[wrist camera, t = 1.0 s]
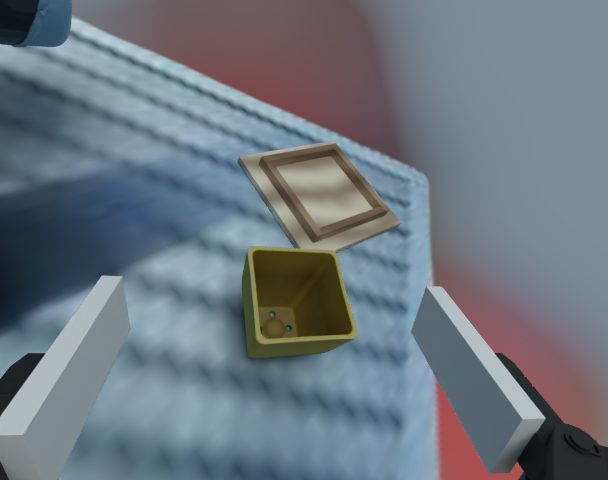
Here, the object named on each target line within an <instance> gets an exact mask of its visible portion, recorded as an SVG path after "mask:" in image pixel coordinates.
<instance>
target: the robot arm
mask: <svg viewBox="0 0 608 480" xmlns="http://www.w3.org/2000/svg"><path fill="white" fill-rule="evenodd" d="M71 16H72V0H0V44H5V45H12V46H13V47H20V48H21V47H25V46H42V47H56V46H59V45H61V44H63V43H64V42H65V41H66V40H67V38H68V36H69V33H70V28H71ZM129 330H130V324H129V317H128V310H127V304H126V297H125V290H124V283H123V277H122V276H102V277H101V278H100V279H99V281H98V282H97V283H96V285H95V286H94V288H93V289H92V290H91V292H90V293H89V294H88V296H87V297H86V299H85V300H84V301H83V303H82V304H81V306H80V307H79V308H78V310H77V311H76V312H75V314H74V315H73V317H72V318H71V319H70V321H69V322H68V323H67V325H66V326H65V328H64V329H63V330H62V332H61V333H60V335H59V336H58V337H57V339H56V340H55V341H54V343H53V344H52V346H51V347H50V348H49V350H48V351H47V352H46V353H28V354H27V355H25V356H24V357H23V358H21V359H20V360H18V361H17V362H16V363H14V364H13V365H12V366H10V368H9V369H8V370H7V371H6V373H5V374H4V375H3V376H2V378H1V379H0V480H58V479H59V477H60V474H61V472H62V470H63V468H64V466H65V464H66V462H67V460H68V458H69V456H70V454H71V452H72V449H73V447H74V445H75V443H76V441H77V439H78V437H79V435H80V433H81V431H82V429H83V426H84V424H85V422H86V420H87V418H88V416H89V414H90V412H91V410H92V408H93V406H94V404H95V401H96V399H97V397H98V395H99V393H100V391H101V389H102V387H103V385H104V383H105V381H106V378H107V376H108V374H109V372H110V370H111V368H112V366H113V364H114V362H115V360H116V358H117V355H118V353H119V351H120V349H121V347H122V345H123V343H124V341H125V339H126V337H127V335H128V333H129ZM411 333H412V334H413V336H414V338H415V340H416V342H417V344H418V345H419V347H420V349H421V351H422V353H423V355H424V356H425V358H426V360H427V362H428V364H429V365H430V367H431V369H432V371H433V373H434V375H435V376H436V378H437V380H438V382H439V384H440V386H441V387H442V389H443V391H444V393H445V395H446V396H447V398H448V400H449V402H450V404H451V406H452V407H453V409H454V411H455V413H456V415H457V417H458V418H459V420H460V422H461V424H462V426H463V427H464V429H465V431H466V433H467V435H468V436H469V438H470V440H471V442H472V444H473V446H474V448H475V449H476V451H477V453H478V455H479V456H480V459H481V460H482V462H483V464H484V466H485V468H486V469H487V471H488V473H489V474H491V473H508V472H510V471H511V470H512V468H513V467H514V465H515V464H516V462H518V463H519V465H520V466H521V468H522V469H523V471H524V472H523V474H522V475H521V476H520V478H519V479H518V480H608V447H604V446H601V445H599V444H598V443H597V442H596V441H595V440H594V439H593V438H592V437H591V436H590V435H588V434H587V433H586V432H584V431H582V430H581V429H579V428H577V427H574V426H572V425H569V424H565V423H564V422H563V421H562V420H561V419H560V418H559V417H558V415H557V414H556V413H555V412H554V411H553V409H552V408H551V407H550V406H549V405H548V403H547V402H546V401H545V400H544V399H543V397H542V396H541V395H540V394H539V392H538V391H537V390H536V389H535V388H534V387H532V384H531V383H530V382H529V380H528V379H527V378H526V377H524V375H523V373H522V372H521V371H520V369H519V368H518V367H517V366H516V365H515V363H513V362H512V361H511V360H510V359H508V358H507V357H506V356H504V355H503V354H501V353H494V352H493V351H492V350H491V348H490V347H489V346H488V345H487V343H486V342H485V341H484V340H483V338H482V337H481V336H480V335H479V333H478V332H477V331H476V330H475V328H474V327H473V326H472V324H471V323H470V322H469V321H468V319H467V318H466V317H465V316H464V314H463V313H462V312H461V310H460V309H459V308H458V307H457V305H456V304H455V303H454V302H453V300H452V299H451V298H450V297H449V295H448V294H447V293H446V291H445V290H444V289H443V288H442V287H429V286H427V287H426V289H425V292H424V295H423V298H422V301H421V304H420V307H419V310H418V313H417V316H416V319H415V322H414V325H413V328H412V331H411Z"/></svg>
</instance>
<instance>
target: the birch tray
mask: <svg viewBox="0 0 608 480" xmlns="http://www.w3.org/2000/svg"><path fill="white" fill-rule="evenodd" d="M238 163H239V164H240V166H241V168H242V169H243V171H244V172H245V174H246V175H247V177H248V178H249V180H250V181H251V183H252V184H253V186H254V187H255V189H256V190H257V192H258V193H259V195H260V196H261V198H262V199H263V201H264V202H265V204H266V205H267V207H268V208H269V210H270V211H271V213H272V214H273V216H274V217H275V219H276V220H277V222H278V223H279V225H280V226H281V228H282V229H283V231H284V232H285V234H286V235H287V237H288V238H289V240H290V241H291V243H292V244H293V246H294V247H295V248H299V249H322V250H333V251H335V253H337V252H339V251H341V250H344V249H346V248H348V247H351V246H353V245H355V244H358V243H360V242H363V241H365V240H367V239H370V238H372V237H374V236H377V235H379V234H382V233H384V232H386V231H389V230H391V229H393V228H396V227H398V226H399V225H400V224H401V222H400V221H399V219H398V218H397V217H396V216H395V215H394V213H393V212H392V211H391V210H390V208H389V207H388V206H387V205H386V204H385V202H384V201H383V200H382V199H381V198H380V196H379V195H378V194H377V193H376V191H375V190H374V189H373V188H372V187H371V185H370V184H369V183H368V182H367V180H366V179H365V178H364V177H363V176H362V174H361V173H360V172H359V171H358V169H357V168H356V167H355V166H354V165H353V163H352V162H351V161H350V160H349V158H348V157H347V156H346V155H345V154H344V152H343V151H342V150H341V149H340V148H339V146H338V145H337V144H336V143H335V141H329V142H323V143H317V144H311V145H305V146H299V147H293V148H287V149H281V150H275V151H269V152H263V153H257V154H251V155H245V156H239V159H238Z"/></svg>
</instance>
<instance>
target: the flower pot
mask: <svg viewBox="0 0 608 480" xmlns="http://www.w3.org/2000/svg"><path fill="white" fill-rule="evenodd" d="M242 295H243V305H244V316H245V329H246V343H247V354H248V356H249V357H250V358H253V359H257V358H268V357H280V356H293V355H309V354H320V353H325V352H328V351H330V350H333V349H335V348H337V347H339V346H341V345H343V344H345V343H347V342H349V341H350V340H352V339H354V338H356V337H357V335H358V333H357V328H356V325H355V321H354V318H353V314H352V311H351V308H350V304H349V301H348V297H347V294H346V290H345V286H344V282H343V278H342V273H341V269H340V265H339V261H338V258H337V255H336V253H335V251H333V250H322V249H299V248H278V247H262V246H251V247H249V248H248V250H247V255H246V260H245V265H244V271H243V276H242ZM271 312H272V313H274V314H275V316H274V317H271V316H270V313H271ZM287 326H289V327H291V330H290V331H287V330H286V327H287ZM260 328H261V329H262V331H261V332H260Z"/></svg>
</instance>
